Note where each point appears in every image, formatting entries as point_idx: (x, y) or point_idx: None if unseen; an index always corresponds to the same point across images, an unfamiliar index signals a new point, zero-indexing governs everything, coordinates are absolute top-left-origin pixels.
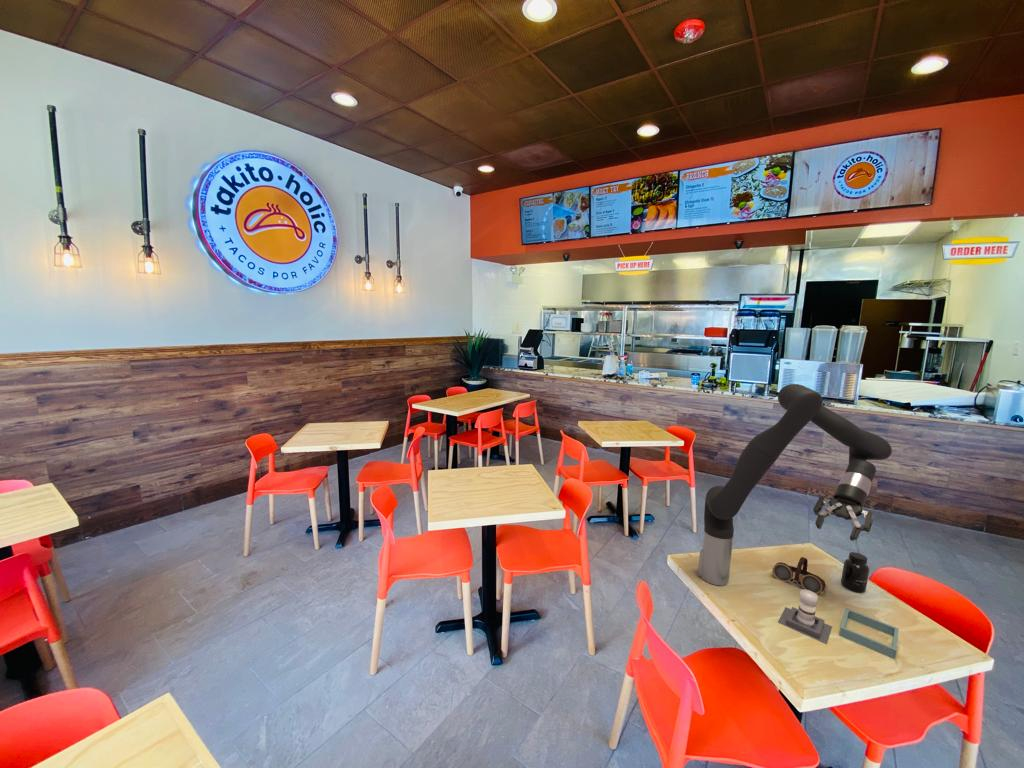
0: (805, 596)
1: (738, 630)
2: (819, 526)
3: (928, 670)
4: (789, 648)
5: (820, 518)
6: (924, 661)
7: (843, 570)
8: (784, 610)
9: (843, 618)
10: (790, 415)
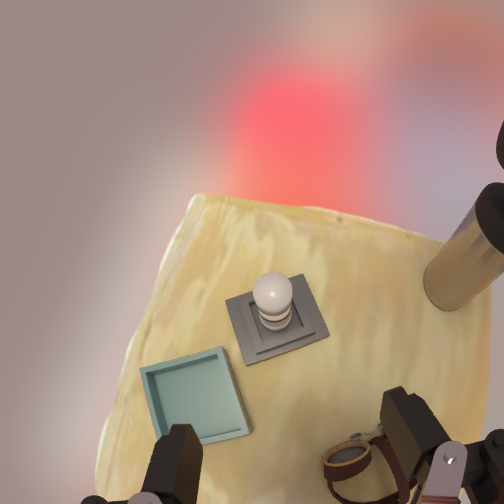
0: (271, 272)
1: (317, 209)
2: (385, 399)
3: (119, 398)
4: (256, 244)
5: (421, 427)
6: (128, 418)
7: None
8: (322, 320)
9: (232, 385)
10: None
